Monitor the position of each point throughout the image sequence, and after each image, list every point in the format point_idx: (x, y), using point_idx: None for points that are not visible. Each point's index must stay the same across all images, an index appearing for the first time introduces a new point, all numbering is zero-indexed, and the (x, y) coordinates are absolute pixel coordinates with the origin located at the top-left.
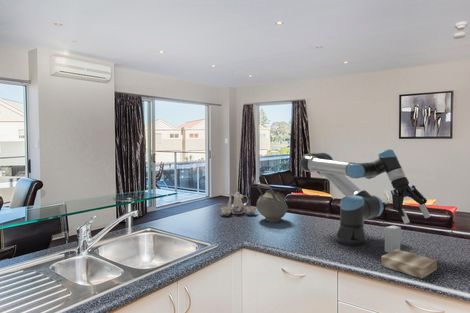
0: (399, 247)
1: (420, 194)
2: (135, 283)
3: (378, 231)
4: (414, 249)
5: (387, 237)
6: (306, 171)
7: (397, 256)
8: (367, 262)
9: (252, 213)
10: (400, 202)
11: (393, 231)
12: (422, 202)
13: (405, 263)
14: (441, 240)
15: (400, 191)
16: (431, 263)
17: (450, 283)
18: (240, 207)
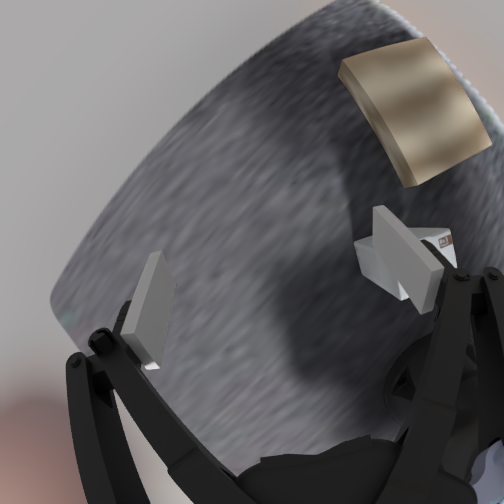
0: (364, 240)
1: (82, 431)
2: None
3: (257, 450)
4: (271, 258)
5: None
6: None
7: (453, 124)
8: (495, 183)
9: None
10: (467, 329)
11: (440, 228)
12: (125, 352)
13: (453, 75)
14: (103, 319)
15: (454, 488)
16: (378, 48)
17: (360, 15)
18: None
